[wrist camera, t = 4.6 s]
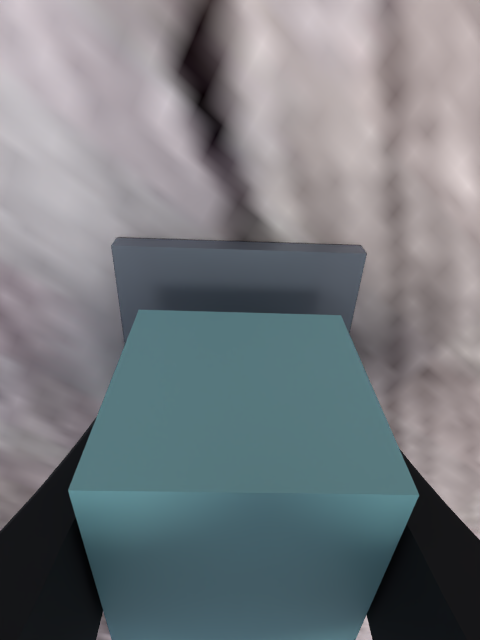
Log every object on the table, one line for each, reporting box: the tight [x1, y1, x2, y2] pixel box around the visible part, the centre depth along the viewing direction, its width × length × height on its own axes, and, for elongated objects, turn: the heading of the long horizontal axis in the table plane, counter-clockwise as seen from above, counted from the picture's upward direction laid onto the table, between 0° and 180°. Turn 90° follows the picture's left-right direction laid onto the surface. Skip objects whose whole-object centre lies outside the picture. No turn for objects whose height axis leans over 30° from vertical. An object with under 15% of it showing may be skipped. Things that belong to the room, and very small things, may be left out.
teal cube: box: [68, 310, 419, 640], centre depth 9 cm, size 5×5×5 cm
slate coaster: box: [111, 238, 367, 344], centre depth 13 cm, size 7×7×1 cm
